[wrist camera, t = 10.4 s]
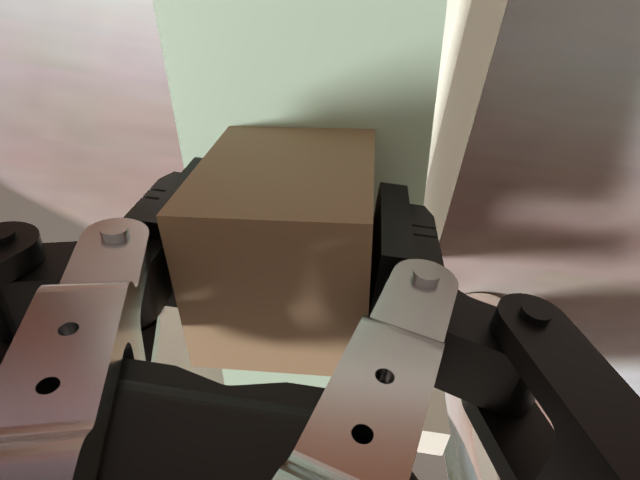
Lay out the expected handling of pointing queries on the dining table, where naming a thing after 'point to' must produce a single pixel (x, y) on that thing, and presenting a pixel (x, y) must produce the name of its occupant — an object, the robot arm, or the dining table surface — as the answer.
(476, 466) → the beer glass
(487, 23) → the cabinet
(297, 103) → the shelf board
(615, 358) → the dining table surface
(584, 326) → the dining table surface
